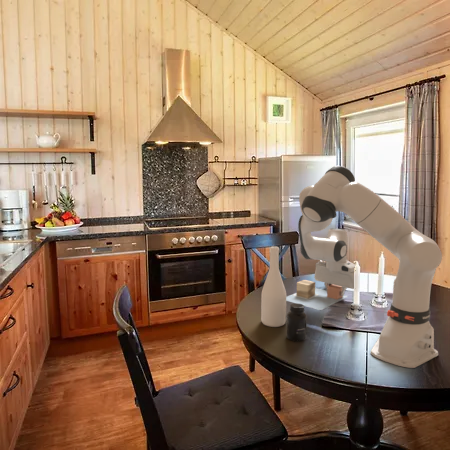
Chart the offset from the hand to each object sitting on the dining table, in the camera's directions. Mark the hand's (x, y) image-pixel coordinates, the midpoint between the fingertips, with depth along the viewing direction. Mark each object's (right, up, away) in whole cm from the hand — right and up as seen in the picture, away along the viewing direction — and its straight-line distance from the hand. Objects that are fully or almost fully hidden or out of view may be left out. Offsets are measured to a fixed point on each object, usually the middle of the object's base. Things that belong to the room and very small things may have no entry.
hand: (335, 293), depth 180 cm
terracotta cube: (0, -1, 0) cm, 1 cm away
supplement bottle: (-24, -9, -38) cm, 46 cm away
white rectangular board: (-9, -3, 0) cm, 10 cm away
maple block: (-13, -1, +3) cm, 13 cm away
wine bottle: (-31, -7, -25) cm, 40 cm away
